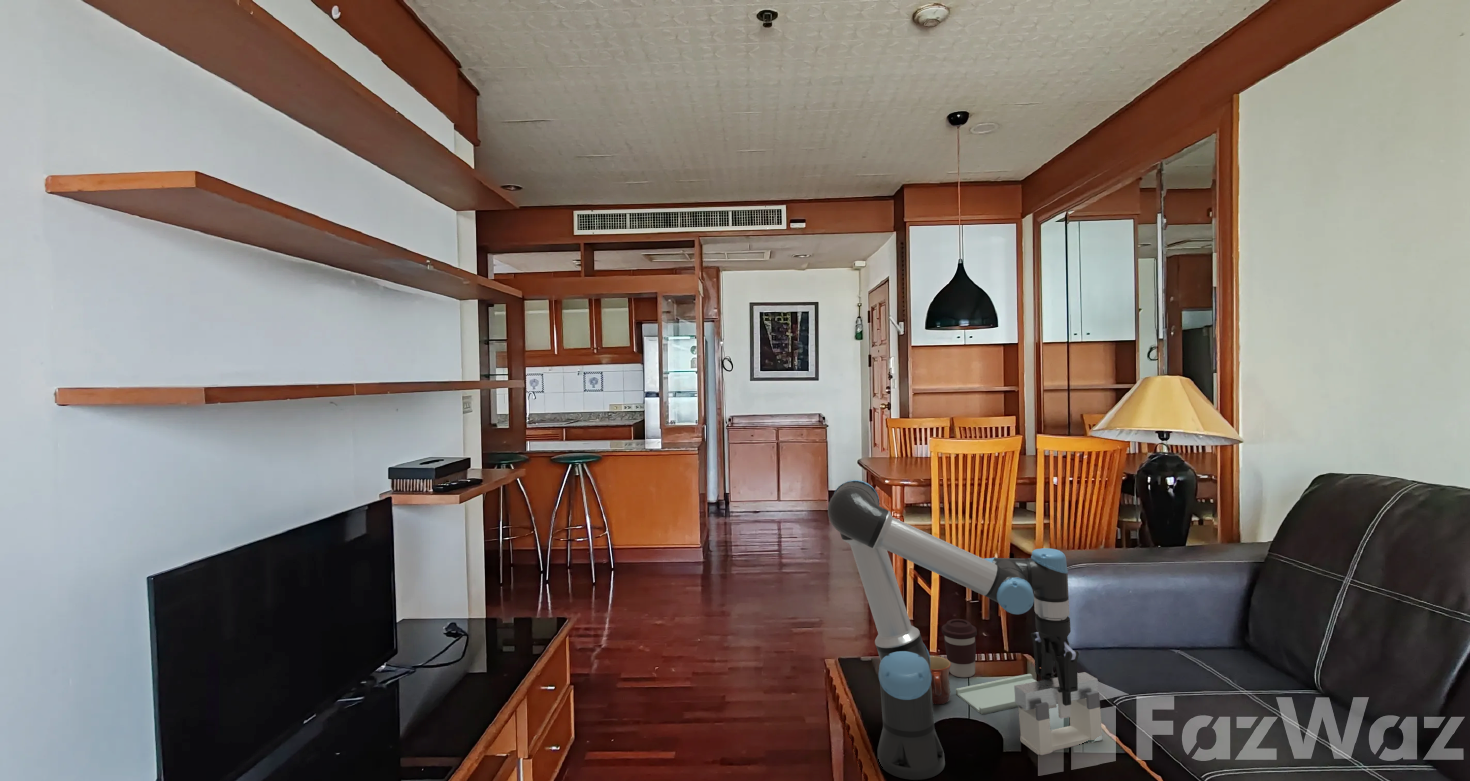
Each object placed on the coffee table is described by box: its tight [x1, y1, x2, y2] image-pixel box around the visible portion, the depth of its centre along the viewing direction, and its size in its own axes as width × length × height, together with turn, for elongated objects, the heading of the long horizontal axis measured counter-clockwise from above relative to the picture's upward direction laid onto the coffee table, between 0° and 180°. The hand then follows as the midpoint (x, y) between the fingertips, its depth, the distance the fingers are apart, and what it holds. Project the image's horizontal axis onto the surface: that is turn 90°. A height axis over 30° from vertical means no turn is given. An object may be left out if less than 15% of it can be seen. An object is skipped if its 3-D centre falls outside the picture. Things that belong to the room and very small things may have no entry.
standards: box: [1018, 691, 1103, 756], centre depth 157 cm, size 18×7×12 cm, turn 104°
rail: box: [1014, 671, 1099, 710], centre depth 157 cm, size 20×4×4 cm, turn 104°
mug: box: [930, 655, 951, 706], centre depth 179 cm, size 12×9×10 cm
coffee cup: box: [941, 618, 978, 678], centre depth 196 cm, size 10×10×15 cm
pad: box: [955, 673, 1037, 715], centre depth 180 cm, size 24×12×2 cm, turn 104°
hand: (1057, 711), depth 157 cm, fingers closed on rail, 4 cm apart
